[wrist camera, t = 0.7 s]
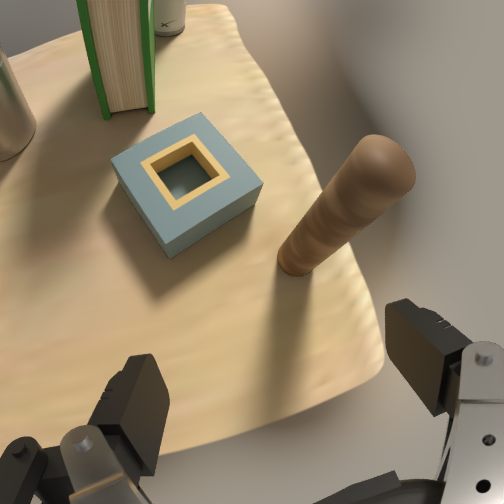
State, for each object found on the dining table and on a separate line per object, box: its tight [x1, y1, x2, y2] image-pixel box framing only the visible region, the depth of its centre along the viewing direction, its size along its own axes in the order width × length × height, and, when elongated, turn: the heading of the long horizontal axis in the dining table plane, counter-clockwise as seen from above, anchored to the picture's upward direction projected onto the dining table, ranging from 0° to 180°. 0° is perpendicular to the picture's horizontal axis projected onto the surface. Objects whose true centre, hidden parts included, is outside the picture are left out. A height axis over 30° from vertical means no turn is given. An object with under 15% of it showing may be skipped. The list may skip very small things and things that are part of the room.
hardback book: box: [76, 0, 155, 120], centre depth 31 cm, size 18×7×24 cm, turn 11°
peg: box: [278, 135, 416, 277], centre depth 27 cm, size 4×4×20 cm
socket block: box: [111, 112, 264, 259], centre depth 35 cm, size 12×12×5 cm
